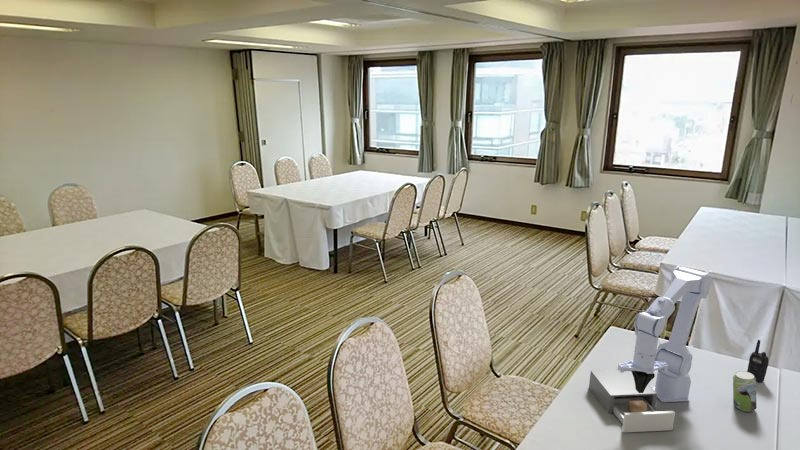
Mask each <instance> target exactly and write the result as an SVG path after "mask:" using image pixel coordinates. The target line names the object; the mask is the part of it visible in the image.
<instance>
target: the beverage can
mask: <svg viewBox="0 0 800 450" xmlns="http://www.w3.org/2000/svg"><path fill="white" fill-rule="evenodd" d="M732 380H733V381H732V388H733V389H732V392H733V393H732V395H733V396H732V397H733V398H732V401H733V402H732V403H733V406H734V407H736V408H737V409H739V410H740V411H743V412H752V411H754V410H756V409H757V395H758V394H757V392H758V391H757V388H758V387H757V383H758V382H757V381H756V378H755V377H754V375H753V374H752V373H749V372H747V370H746V371H745V370H739V371H736V372H735V373H734V374H733V377H732Z"/></svg>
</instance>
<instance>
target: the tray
mask: <svg viewBox="0 0 800 450" xmlns="http://www.w3.org/2000/svg"><path fill="white" fill-rule="evenodd" d="M630 399H639V400H642V401H644V402H645V403H646V404H647V408H646V412H633V413H627V411H628V404H629V400H630ZM612 413H613V414H614V415H615V416H616V418H617V419H618V420H619V421H620V423H621V424H622V427H621V431H622V433H639V432H656V431H657V432H659V431H661V432H662V431H673V427H674V422H675V416H676V412H675V411H674V410H664V411H663V410H661V411H659V410H658V411H657V410H654V409H653V408H652V406H651V405H650V404H649V403H648V402H647V401H646V400H645V399H644V398H643V397H637V396H629V397H614V403H613V410H612Z"/></svg>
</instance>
